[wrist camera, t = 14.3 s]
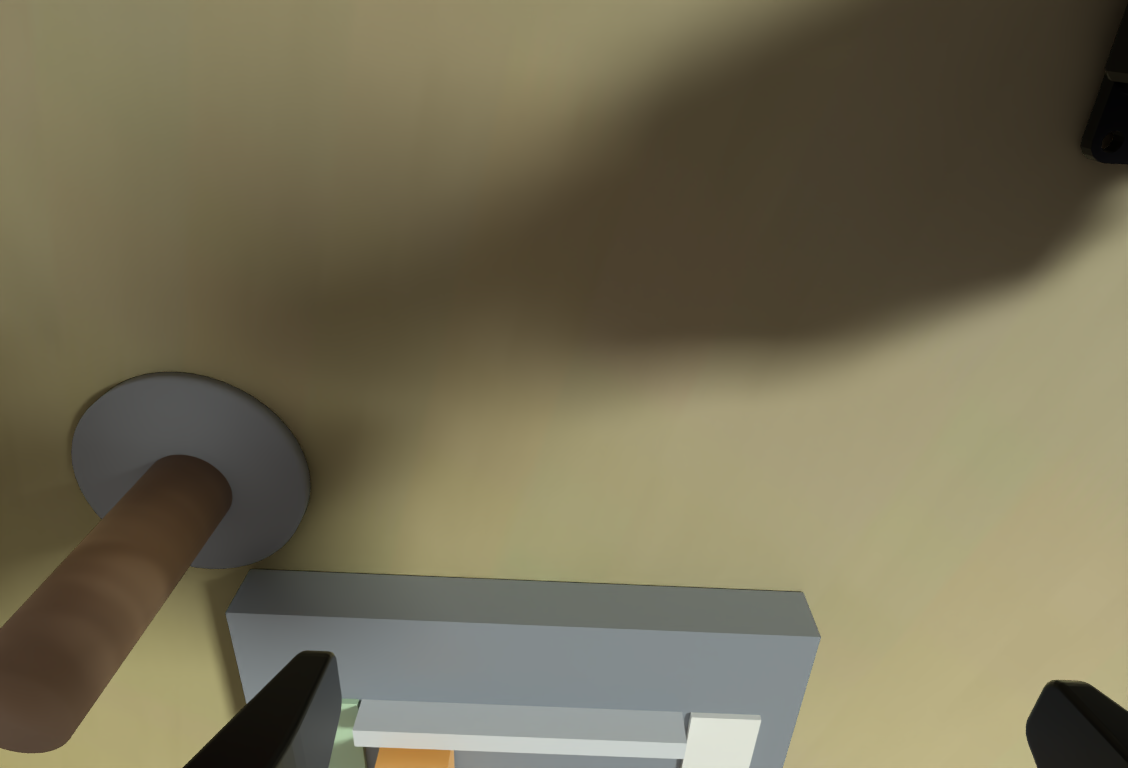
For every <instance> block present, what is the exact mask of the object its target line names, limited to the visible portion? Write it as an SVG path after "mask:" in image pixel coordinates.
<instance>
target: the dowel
mask: <svg viewBox="0 0 1128 768" xmlns="http://www.w3.org/2000/svg"><path fill="white" fill-rule="evenodd" d="M231 504H232V491H231V487H230V485H229V483H228V481H227V479H226V478H225V477H224V475H223V474H222V473H221V472H220V471H219V470H218V469H217V468H215V467H214V466H213V465H211V464H210V463H208V462H206V461H204V460H202V459H199V458H197V457H193V456H189V455H170V456H166V457H163V458H161V459H159V460H158V461H156V462H155V463H154V464H153V465H152V466H151V467H150V468H149V469H148V470H147V471H146V473H145V474H144V475H143V476H142V477H141V478H140V479H139V480H138V481H137V482H136V483H135V484H134V485H133V487H132V488H131V489H130V490H129V491H128V492H127V493H126V494H125V495H124V496H123V497H122V498H121V499H120V500H119V502H118V503H117V504H116V505H115V506H114V507H113V508H112V509H111V510H110V511H109V512H108V513H107V514H106V516H105V517H104V518H103V519H102V520H101V521H100V522H99V523H98V524H97V525H96V526H95V527H94V528H93V530H92V531H91V532H90V533H89V534H88V535H87V536H86V537H85V538H84V539H83V540H82V541H81V542H80V543H79V545H78V546H77V547H76V548H75V549H74V550H73V551H72V552H71V553H70V554H69V555H68V556H67V557H66V559H65V560H64V561H63V562H62V563H61V564H60V565H59V566H58V567H57V568H56V569H55V570H54V571H53V573H52V574H51V575H50V576H49V577H48V578H47V579H46V580H45V581H44V582H43V583H42V584H41V585H40V587H39V588H38V589H37V590H36V591H35V592H34V593H33V594H32V595H31V596H30V597H29V598H28V599H27V600H26V602H25V603H24V604H23V605H22V606H21V607H20V608H19V609H18V610H17V611H16V612H15V613H14V614H13V616H12V617H11V618H10V619H9V620H8V621H7V622H6V623H5V624H4V625H3V626H2V627H1V628H0V748H2V749H6V750H10V751H15V752H21V753H43V752H48V751H52V750H55V749H57V748H59V747H61V746H63V745H64V744H65V743H66V742H67V741H68V740H69V739H70V738H71V736H72V735H73V733H74V732H75V730H76V729H77V728H78V726H79V725H80V723H81V722H82V720H83V719H84V718H85V716H86V715H87V713H88V712H89V710H90V709H91V707H92V706H93V705H94V703H95V702H96V700H97V699H98V697H99V696H100V695H101V693H102V692H103V690H104V689H105V687H106V686H107V684H108V683H109V682H110V680H111V679H112V677H113V676H114V674H115V673H116V672H117V670H118V669H119V667H120V666H121V664H122V663H123V661H124V660H125V659H126V657H127V656H128V654H129V653H130V651H131V650H132V649H133V647H134V646H135V644H136V643H137V641H138V640H139V638H140V637H141V636H142V634H143V633H144V631H145V630H146V628H147V627H148V626H149V624H150V623H151V621H152V620H153V618H154V617H155V615H156V614H157V613H158V611H159V610H160V608H161V607H162V605H163V604H164V603H165V601H166V600H167V598H168V597H169V595H170V594H171V592H172V591H173V590H174V588H175V587H176V585H177V584H178V582H179V581H180V580H181V578H182V577H183V575H184V574H185V572H186V571H187V569H188V568H189V567H190V565H191V564H192V562H193V561H194V559H195V558H196V556H197V555H198V554H199V552H200V551H201V549H202V548H203V546H204V545H205V544H206V542H207V541H208V539H209V538H210V536H211V535H212V533H213V532H214V531H215V529H216V528H217V526H218V525H219V523H220V522H221V521H222V519H223V518H224V516H225V515H226V513H227V512H228V510H229V509H230V507H231Z"/></svg>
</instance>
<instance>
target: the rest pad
mask: <svg viewBox="0 0 1128 768" xmlns="http://www.w3.org/2000/svg"><path fill="white" fill-rule="evenodd" d="M71 454H72V465H73V469H74V473H75V477H76V480H77V482H78V485H79V487H80V489H81V491H82V493H83V495H84V497H85V498H86V500H87V502H88V503H89V504H90V506H91V507H92V508H93V510H94V511H95V513H96V514H97V515H98V516H99V517H100V518H101V519H103V518H104V517H105V516H106V514H107V513H108V512H109V511H110V510H111V509H112V508H113V507H114V506H115V505H116V504H117V503H118V502H119V500H120V499H121V498H122V497H123V496H124V495H125V494H126V493H127V492H128V491H129V490H130V489H131V488H132V487H133V485H134V484H135V483H136V482H137V481H138V480H139V479H140V478H141V477H142V476H143V475H144V474H145V473H146V471H147V470H148V469H149V468H150V467H151V466H152V465H153V464H154V463H155V462H156V461H158V460H159V459H161V458H163V457H166V456H170V455H189V456H193V457H197V458H199V459H202V460H204V461H206V462H208V463H210V464H211V465H213V466H214V467H215V468H217V469H218V470H219V471H220V472H221V473H222V474H223V475H224V477H225V478H226V479H227V481H228V483H229V485H230V487H231V491H232V504H231V507H230V509H229V510H228V512H227V513H226V515H225V516H224V518H223V519H222V521H221V522H220V523H219V525H218V526H217V528H216V529H215V531H214V532H213V533H212V535H211V536H210V538H209V539H208V541H207V542H206V544H205V545H204V546H203V548H202V549H201V551H200V552H199V554H198V555H197V556H196V558H195V559H194V561H193V562H192V564H191V565H190V566H191V567H196V568H207V569H226V568H234V567H240V566H245V565H249V564H252V563H255V562H257V561H260V560H262V559H264V558H266V557H268V556H270V555H272V554H273V553H275V552H276V551H278V550H279V549H280V548H282V547H283V546H284V545H285V544H286V543H287V542H288V541H289V539H290V538H291V537H292V535H293V534H294V532H295V531H296V529H297V527H298V525H299V524H300V522H301V520H302V518H303V516H304V514H305V511H306V509H307V506H308V502H309V499H310V489H311V485H310V474H309V469H308V465H307V462H306V459H305V456H304V454H303V451H302V449H301V447H300V446H299V444H298V442H297V440H296V438H295V437H294V436H293V434H292V433H291V431H290V430H289V429H288V427H287V426H286V425H285V424H284V423H283V422H282V421H281V420H280V418H279V417H278V416H277V415H275V414H274V413H273V412H272V411H271V410H270V409H269V408H268V407H266V406H265V405H264V404H262V403H261V402H260V401H258V400H257V399H255V398H254V397H252V396H251V395H249V394H247V393H245V392H244V391H242V390H240V389H238V388H236V387H234V386H231V385H229V384H227V383H225V382H222V381H219V380H216V379H213V378H210V377H206V376H201V375H196V374H191V373H182V372H158V373H151V374H145V375H141V376H138V377H134V378H131V379H129V380H126V381H124V382H122V383H120V384H118V385H117V386H115V387H114V388H112V389H110V390H109V391H108V392H107V393H105V394H104V395H103V396H102V397H101V398H99V399H98V400H97V401H96V402H95V403H94V404H93V405H92V406H90V407H89V408H88V409H87V411H86V412H85V413H84V415H83V416H82V417H81V419H80V421H79V423H78V425H77V427H76V429H75V433H74V437H73V440H72V451H71Z"/></svg>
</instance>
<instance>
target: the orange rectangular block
mask: <svg viewBox="0 0 1128 768" xmlns="http://www.w3.org/2000/svg"><path fill="white" fill-rule="evenodd" d="M375 768H455V767H454V750H435V749H409V748H383V747H380V748H379V752H378V756H377V760H376V764H375Z"/></svg>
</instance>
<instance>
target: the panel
mask: <svg viewBox="0 0 1128 768" xmlns="http://www.w3.org/2000/svg"><path fill="white" fill-rule="evenodd" d="M225 613H226V618H227V622H228V626H229V631H230V635H231V639H232V643H233V648H234V652H235V656H236V661H237V665H238V669H239V674H240V678H241V682H242V686H243V691H244V695H245V699H246V704H247V703H248V702H249V701H250V700H251V699H252V698H253V697H254V696H255V695H256V694H257V693H258V692H259V691H260V690H261V689H262V688H263V687H264V686H265V685H266V684H267V683H268V682H270V681H271V680H272V679H273V678H274V677H275V676H276V675H277V674H278V673H279V672H280V671H281V670H282V669H283V668H284V667H285V666H286V665H287V664H288V663H289V662H290V661H291V660H292V659H293V658H294V657H295V656H296V655H297V654H298V653H300V652H302V651H306V650H312V651H330V652H333V653H334V655H335V656H336V659H337V666H338V673H339V680H340V687H341V694H342V706H341V713H340V718H339V723H338V727H337V732H336V736H335V741H334V745H333V750H332V754H331V759H330V763H329V768H375V764H376V760H377V756H378V752H379V748H380V747H383V748H409V749H435V750H454V767H455V768H783V765H784V761H785V758H786V754H787V751H788V748H789V744H790V741H791V737H792V734H793V731H794V727H795V724H796V720H797V717H798V713H799V710H800V707H801V703H802V700H803V696H804V693H805V690H806V686H807V683H808V679H809V676H810V673H811V669H812V666H813V662H814V659H815V656H816V652H817V649H818V645H819V642H820V638H821V636H820V634H819V631H818V629H817V626H816V623H815V621H814V618H813V616H812V613H811V611H810V608H809V606H808V603H807V601H806V598H805V596H804V593H803V592H786V591H762V590H738V589H714V588H690V587H666V586H642V585H618V584H595V583H571V582H547V581H523V580H499V579H475V578H451V577H427V576H404V575H380V574H356V573H332V572H308V571H284V570H260V569H250V570H249V572H248V574H247V576H246V577H245V579H244V581H243V583H242V584H241V586H240V588H239V590H238V591H237V593H236V595H235V597H234V598H233V600H232V602H231V604H230V605H229V607H228V609H227V611H226V612H225Z"/></svg>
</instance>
